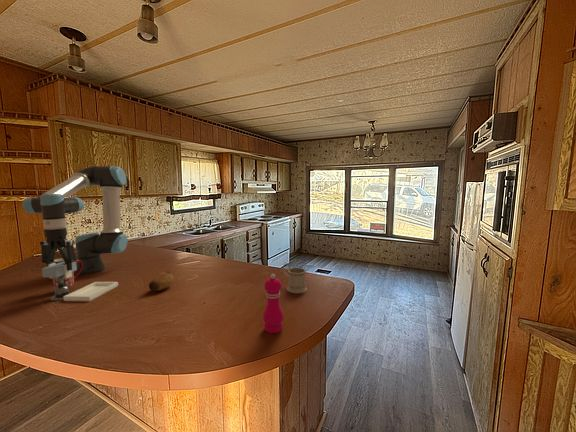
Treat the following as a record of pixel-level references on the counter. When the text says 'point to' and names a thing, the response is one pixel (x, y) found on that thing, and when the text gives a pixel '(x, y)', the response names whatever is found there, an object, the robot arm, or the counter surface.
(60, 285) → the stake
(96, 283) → the tray
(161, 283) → the potato
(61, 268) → the windowed blue block
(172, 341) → the counter surface
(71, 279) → the mug
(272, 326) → the pepper mill
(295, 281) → the mug
